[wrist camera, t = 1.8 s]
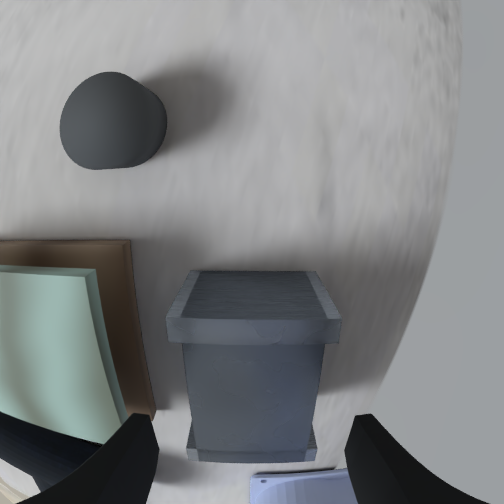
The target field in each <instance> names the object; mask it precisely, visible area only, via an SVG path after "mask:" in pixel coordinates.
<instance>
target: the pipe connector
mask: <svg viewBox="0 0 504 504" xmlns="http://www.w3.org/2000/svg"><path fill="white" fill-rule="evenodd" d="M100 448H101V447H98V446H95V445H92V444H89V443H87V442H84V441H81V440H79V439H76V438H74V437H71V436H69V435H66V434H63V433H59V432H56V431H53V430H50V429H47V428H43V427H40V426H38V425H35V424H32V423H29V422H26V421H23V420H21V419H18V418H16V417H13V416H10V415H8V414H5V413H3V412H1V411H0V458H1V459H3V460H4V461H6V462H8V463H9V464H11V465H13V466H14V467H16V468H18V469H20V470H22V471H23V472H25V473H27V474H29V475H31V476H32V477H33V479H34V480H35V482H36V484H37V486H38V488H39V490H40V491H41V492H43V491H44V490H46V489H48V488H50V487H51V486H53V485H55V484H56V483H58V482H59V481H61V480H62V479H64V478H65V477H67V476H68V475H69V474H71V473H72V472H73V471H75V470H76V469H77V468H78V467H80V466H81V465H82V464H83V463H84V462H85V461H87V460H88V459H89V458H90V457H91V456H92V455H93V454H94V453H95V452H96V451H98V450H99V449H100Z"/></svg>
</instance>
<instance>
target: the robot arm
mask: <svg viewBox="0 0 504 504" xmlns="http://www.w3.org/2000/svg"><path fill="white" fill-rule="evenodd" d="M344 451H345V457H346V463H347V468H344V469H338V470H337V469H336V470H328V471H318V472H307V473H292V474H261V475H253V476H251V479H250V504H489V503H486V502H484V501H481V500H478V499H476V498H474V497H472V496H470V495H468V494H466V493H464V492H462V491H460V490H458V489H456V488H454V487H452V486H451V485H449V484H448V483H446V482H444V481H443V480H442V479H440V478H439V477H437V476H436V475H434V474H433V473H432V472H430V471H429V470H428V469H427V468H425V467H424V466H423V465H422V464H421V463H419V462H418V461H417V460H416V459H415V458H414V457H413V456H412V455H411V454H409V453H408V452H407V451H406V450H405V449H404V448H403V447H402V446H401V445H400V444H399V443H398V442H397V441H396V440H395V439H394V438H393V437H392V436H391V434H390V433H389V432H388V431H387V430H386V429H385V428H384V427H383V426H382V425H381V424H380V423H379V421H378V420H377V419H376V418H375V417H374V416H373V415H372V414H364V415H356V416H355V418H354V421H353V425H352V428H351V431H350V434H349V438H348V441H347V444H346V447H345V450H344ZM158 454H159V447H158V443H157V440H156V436H155V433H154V429H153V426H152V422H151V418H150V415H148V414H140V413H132V414H131V415H130V416H129V418H128V419H127V420H126V421H125V422H124V423H123V424H122V425H121V427H120V428H119V429H118V430H117V431H116V432H115V433H114V434H113V435H112V436H111V437H110V438H109V439H108V440H107V441H106V442H105V443H104V445H103V446H102V447H101V448H100V449H99V450H98V451H96V452H95V453H94V454H93V455H92V456H91V457H90V458H89V459H88V460H87V461H85V462H84V463H83V464H82V465H81V466H80V467H78V468H77V469H76V470H75V471H73V472H72V473H71V474H69V475H68V476H67V477H65V478H64V479H62V480H61V481H59V482H58V483H56V484H55V485H53V486H51V487H50V488H48V489H46V490H44V491H43V492H41V493H39V494H37V495H35V496H32V497H30V498H28V499H26V500H24V501H21V502H19V503H16V504H146V501H147V498H148V495H149V492H150V489H151V485H152V482H153V479H154V476H155V472H156V466H157V461H158Z"/></svg>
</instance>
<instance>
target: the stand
mask: <svg viewBox="0 0 504 504" xmlns="http://www.w3.org/2000/svg"><path fill="white" fill-rule="evenodd" d="M0 411H1V412H3V413H5V414H8V415H10V416H13V417H16V418H18V419H21V420H23V421H26V422H29V423H32V424H35V425H38V426H40V427H43V428H47V429H50V430H53V431H56V432H59V433H63V434H66V435H70V436H73V437H77V438H81V439H85V440H88V441H93V442H97V443H101V444H104V443H105V442H106V441H107V440H108V439H109V438H110V437H111V436H112V435H113V434H114V433H115V432H116V431H117V430H118V429H119V428H120V427H121V425H122V424H123V423H124V422H125V421H126V420H127V419H128V418H129V416H130V415H131V414H132V413H140V414H148V415H150V418H151V421H153V419H154V416H155V413H156V407H155V403H154V398H153V394H152V389H151V384H150V379H149V374H148V369H147V364H146V359H145V353H144V348H143V342H142V336H141V329H140V323H139V316H138V309H137V302H136V294H135V286H134V277H133V268H132V257H131V246H130V240H41V241H0Z"/></svg>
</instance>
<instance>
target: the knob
mask: <svg viewBox="0 0 504 504" xmlns="http://www.w3.org/2000/svg"><path fill="white" fill-rule="evenodd" d="M166 129H167V116H166V111H165V108H164V106H163V104H162V102H161V101H160V99H159V98H158V97H157V96H156V95H155V94H154V93H153V92H151V91H150V90H148V89H147V88H145V87H144V86H142V85H141V84H139V83H138V82H136V81H135V80H133V79H132V78H130V77H129V76H127V75H125V74H122V73H118V72H103V73H99V74H96V75H94V76H91V77H90V78H88V79H86V80H85V81H83V82H82V83H81V84H80V85H79V86H78V87H77V88H76V89H75V90H74V91H73V92H72V94H71V95H70V96H69V98H68V100H67V102H66V104H65V106H64V108H63V111H62V115H61V120H60V137H61V141H62V145H63V147H64V150H65V151H66V153H67V155H68V156H69V157H70V158H71V159H72V160H73V161H74V162H75V163H76V164H78V165H80V166H82V167H84V168H87V169H92V170H102V169H115V168H129V167H134V166H137V165H140V164H142V163H144V162H145V161H147V160H148V159H149V158H151V157H152V156H153V155H154V154H155V153H156V151H157V150H158V149H159V147H160V146H161V144H162V142H163V140H164V137H165V134H166Z"/></svg>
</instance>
